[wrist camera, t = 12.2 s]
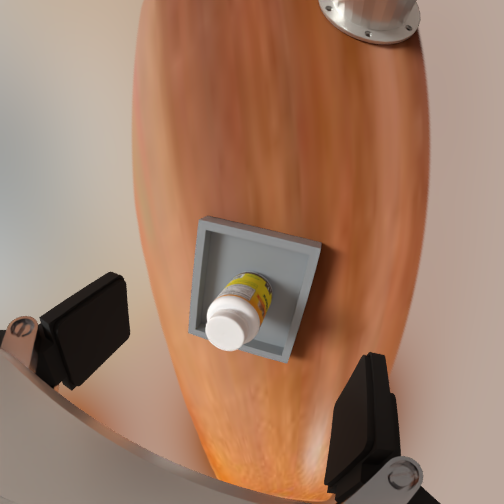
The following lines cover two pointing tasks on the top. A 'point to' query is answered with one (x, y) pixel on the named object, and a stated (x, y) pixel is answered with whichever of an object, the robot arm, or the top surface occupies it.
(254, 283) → the supplement bottle
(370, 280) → the top surface
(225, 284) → the tray
